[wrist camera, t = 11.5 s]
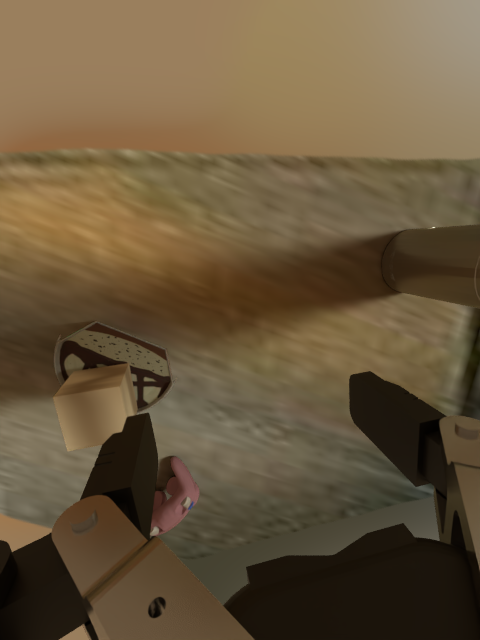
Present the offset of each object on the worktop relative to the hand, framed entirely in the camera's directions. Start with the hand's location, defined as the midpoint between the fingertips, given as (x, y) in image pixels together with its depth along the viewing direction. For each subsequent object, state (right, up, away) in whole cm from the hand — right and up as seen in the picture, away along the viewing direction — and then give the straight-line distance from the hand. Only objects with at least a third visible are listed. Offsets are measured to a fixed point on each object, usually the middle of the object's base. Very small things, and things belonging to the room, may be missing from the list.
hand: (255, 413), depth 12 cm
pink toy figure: (-12, -21, +33) cm, 41 cm away
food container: (-16, -1, +27) cm, 31 cm away
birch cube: (-14, -3, +17) cm, 22 cm away
